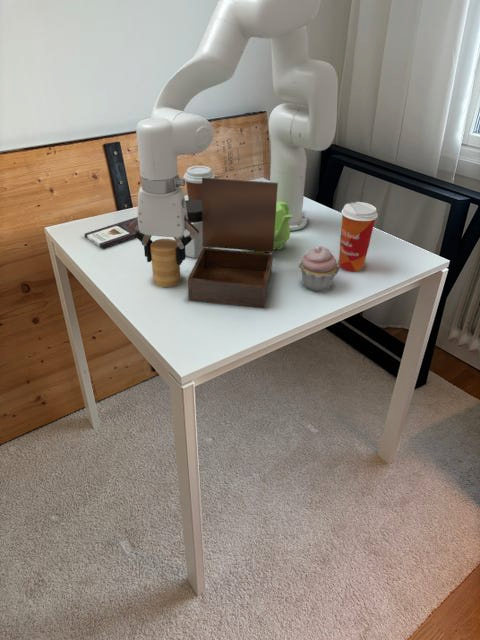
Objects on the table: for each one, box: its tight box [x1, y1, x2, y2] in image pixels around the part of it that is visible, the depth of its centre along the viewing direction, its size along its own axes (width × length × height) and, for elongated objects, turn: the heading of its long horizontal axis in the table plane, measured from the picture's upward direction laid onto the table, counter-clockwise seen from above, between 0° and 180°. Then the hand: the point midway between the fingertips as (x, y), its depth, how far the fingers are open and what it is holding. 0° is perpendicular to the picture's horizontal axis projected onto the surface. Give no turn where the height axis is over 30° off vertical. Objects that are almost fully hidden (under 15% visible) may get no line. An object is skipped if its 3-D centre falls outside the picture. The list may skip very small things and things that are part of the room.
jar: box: [184, 199, 211, 259], centre depth 126 cm, size 9×8×12 cm
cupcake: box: [297, 245, 341, 292], centre depth 113 cm, size 9×9×10 cm
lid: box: [202, 177, 278, 253], centre depth 116 cm, size 16×17×5 cm
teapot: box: [253, 202, 293, 253], centre depth 129 cm, size 16×14×13 cm
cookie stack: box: [150, 238, 182, 288], centre depth 114 cm, size 6×6×9 cm
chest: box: [187, 247, 274, 309], centre depth 114 cm, size 15×17×5 cm
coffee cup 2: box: [338, 201, 379, 272], centre depth 120 cm, size 8×8×15 cm
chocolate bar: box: [84, 216, 139, 249], centre depth 137 cm, size 9×1×18 cm
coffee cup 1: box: [182, 165, 216, 200], centre depth 148 cm, size 9×9×12 cm
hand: (165, 260), depth 114 cm, fingers closed on cookie stack, 6 cm apart
